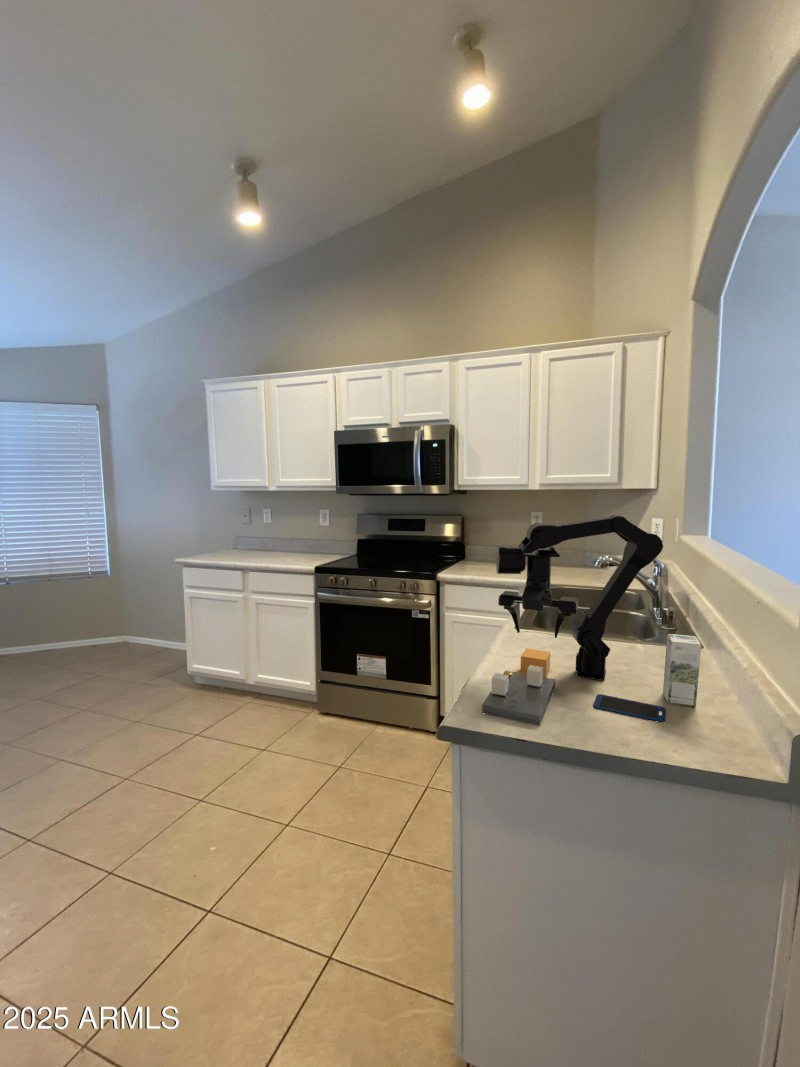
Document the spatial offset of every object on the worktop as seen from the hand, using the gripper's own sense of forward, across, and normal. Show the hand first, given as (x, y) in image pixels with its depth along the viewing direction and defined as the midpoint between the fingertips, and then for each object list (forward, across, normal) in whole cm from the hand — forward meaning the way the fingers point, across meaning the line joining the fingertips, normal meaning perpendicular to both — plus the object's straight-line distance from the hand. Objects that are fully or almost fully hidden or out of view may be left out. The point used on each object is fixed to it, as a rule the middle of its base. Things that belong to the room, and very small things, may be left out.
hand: (536, 635), depth 126 cm
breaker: (+8, -4, -20) cm, 22 cm away
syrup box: (+10, +32, -2) cm, 33 cm away
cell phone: (+11, +22, -11) cm, 27 cm away
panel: (+10, 0, -17) cm, 20 cm away
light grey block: (+8, +2, -12) cm, 14 cm away
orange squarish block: (+10, 0, 0) cm, 10 cm away
